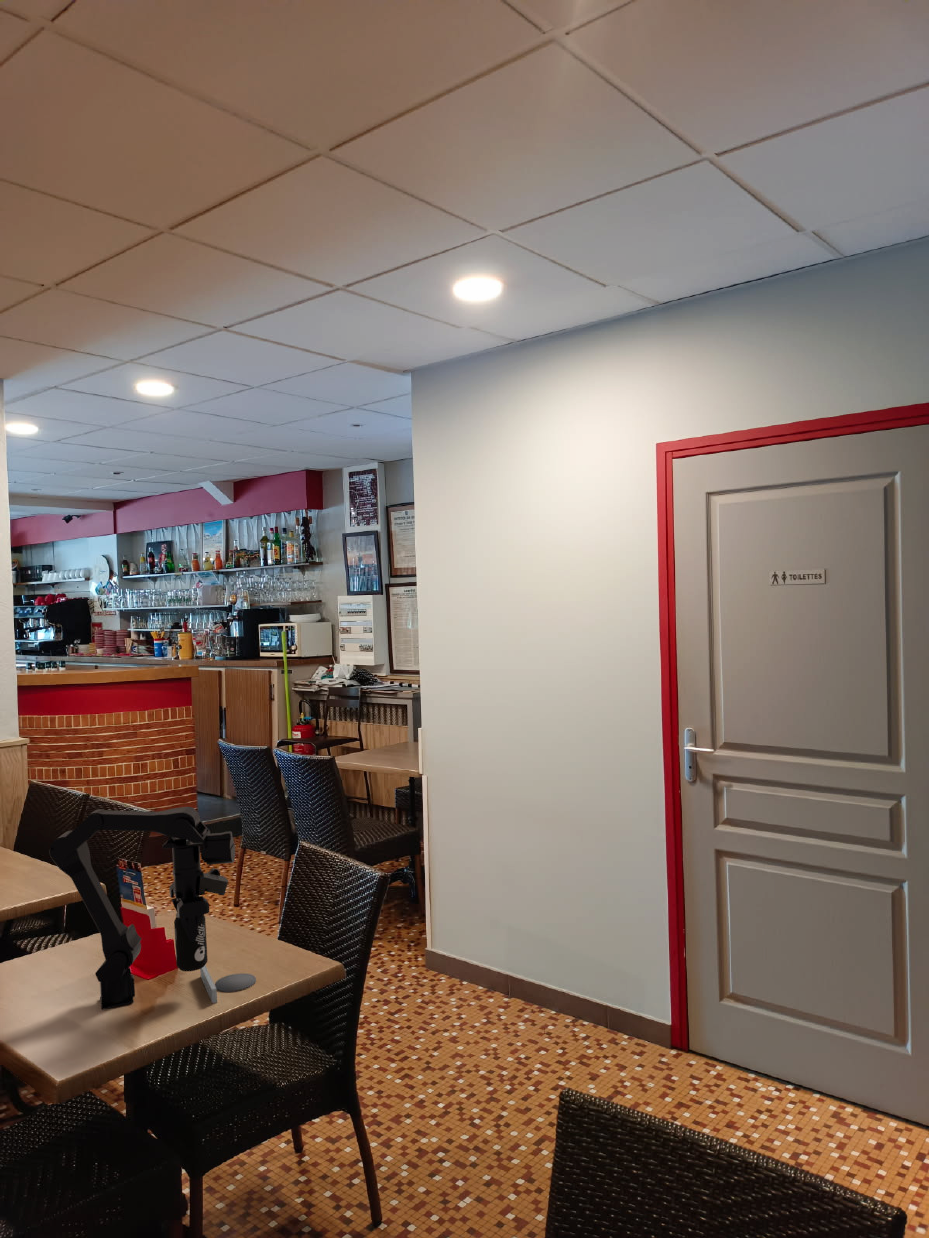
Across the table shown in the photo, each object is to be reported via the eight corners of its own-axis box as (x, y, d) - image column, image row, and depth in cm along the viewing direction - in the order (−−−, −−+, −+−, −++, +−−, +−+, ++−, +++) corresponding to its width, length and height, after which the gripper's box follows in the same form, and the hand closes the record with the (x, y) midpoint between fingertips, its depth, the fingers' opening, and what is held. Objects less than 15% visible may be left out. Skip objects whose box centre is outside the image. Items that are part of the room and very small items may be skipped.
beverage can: (188, 974, 194) (185, 919, 194) (170, 968, 198) (167, 914, 198) (213, 964, 199) (210, 910, 199) (196, 958, 203) (193, 905, 203)
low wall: (212, 1003, 194) (211, 989, 194) (200, 976, 209) (200, 963, 209) (217, 1002, 195) (216, 988, 195) (204, 975, 209) (204, 962, 209)
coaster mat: (218, 995, 198) (218, 993, 198) (212, 980, 207) (211, 978, 207) (259, 986, 202) (259, 984, 202) (251, 972, 210) (251, 970, 210)
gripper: (231, 870, 193) (235, 942, 194) (217, 850, 210) (220, 916, 211) (177, 879, 189) (181, 953, 189) (167, 858, 206) (171, 925, 206)
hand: (190, 936), depth 199 cm, fingers closed on beverage can, 6 cm apart
